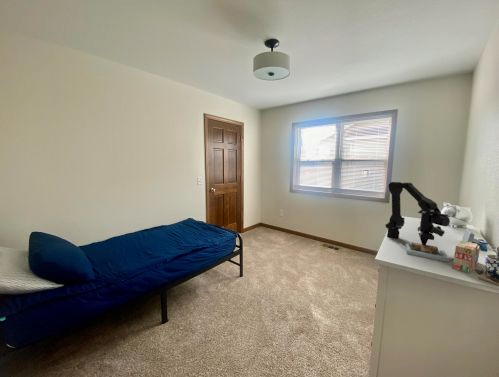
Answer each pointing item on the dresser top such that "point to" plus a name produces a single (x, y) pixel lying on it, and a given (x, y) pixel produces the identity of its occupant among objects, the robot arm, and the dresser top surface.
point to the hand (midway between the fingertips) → (423, 246)
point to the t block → (425, 248)
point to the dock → (442, 252)
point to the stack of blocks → (466, 256)
